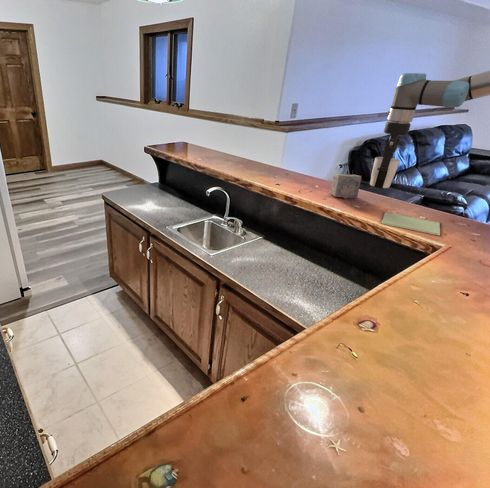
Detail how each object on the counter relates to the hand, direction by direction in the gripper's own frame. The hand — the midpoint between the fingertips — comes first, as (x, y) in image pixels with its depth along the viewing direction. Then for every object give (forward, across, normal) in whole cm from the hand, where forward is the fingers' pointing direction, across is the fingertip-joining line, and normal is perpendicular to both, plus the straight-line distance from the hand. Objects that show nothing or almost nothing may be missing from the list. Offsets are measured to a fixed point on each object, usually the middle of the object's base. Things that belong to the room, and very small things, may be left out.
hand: (379, 185), depth 132 cm
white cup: (0, 0, 0) cm, 0 cm away
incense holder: (+13, -18, -14) cm, 26 cm away
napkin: (+12, 0, +14) cm, 18 cm away
